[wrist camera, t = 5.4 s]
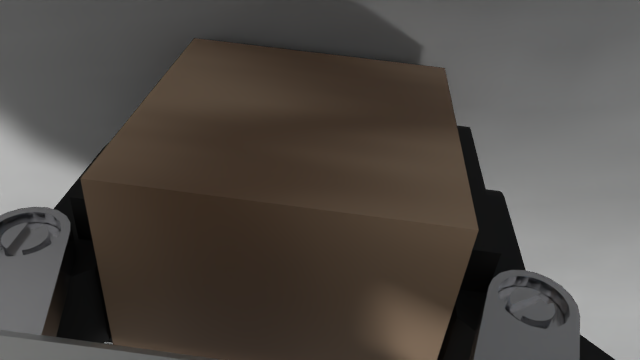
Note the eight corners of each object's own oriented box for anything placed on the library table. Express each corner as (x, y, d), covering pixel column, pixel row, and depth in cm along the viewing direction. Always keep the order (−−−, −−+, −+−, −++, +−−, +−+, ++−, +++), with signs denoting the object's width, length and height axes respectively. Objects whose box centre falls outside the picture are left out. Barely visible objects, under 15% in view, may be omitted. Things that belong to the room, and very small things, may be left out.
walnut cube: (444, 67, 11) (478, 229, 7) (401, 256, 14) (407, 450, 10) (194, 38, 11) (79, 178, 7) (203, 229, 14) (126, 409, 10)
